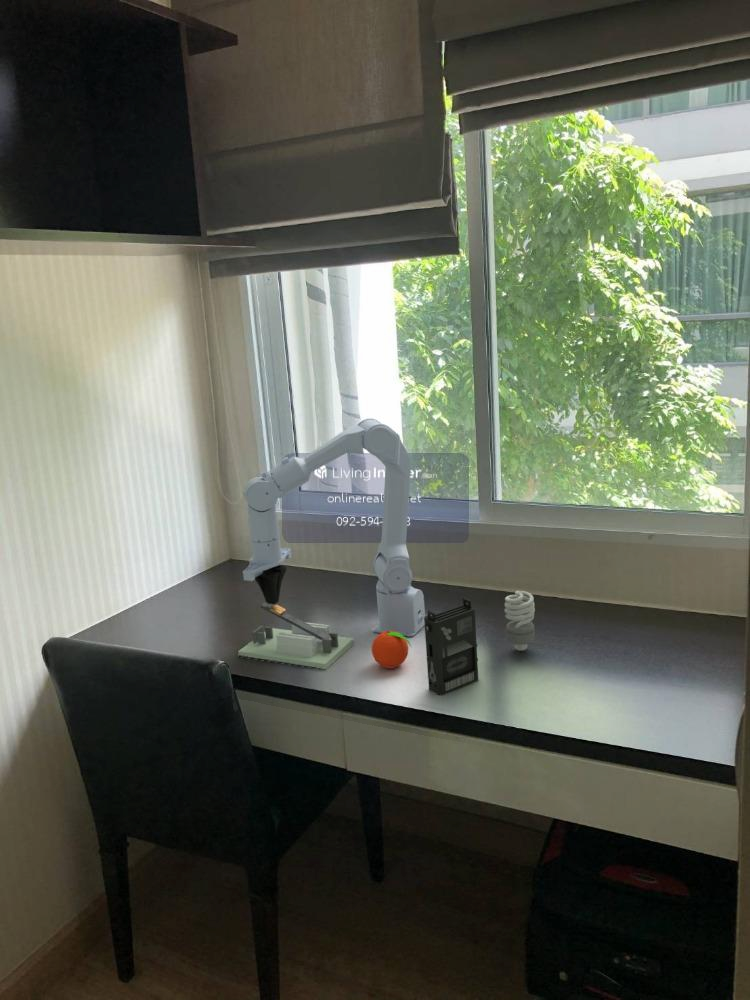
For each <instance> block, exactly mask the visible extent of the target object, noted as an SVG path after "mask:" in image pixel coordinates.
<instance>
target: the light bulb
mask: <svg viewBox="0 0 750 1000" xmlns="http://www.w3.org/2000/svg"><path fill="white" fill-rule="evenodd" d="M504 601H505V602H504V607H505V608H504V613H505V618H506V619H508V620H510V621H509V622H508V623H507V624H506V626H505V627H506V628H505V632H506V637H507V638H506V639H507V640H508V642H509V643H511V644H513V647H514V648H515V650H517V651H519V652H523V651H525V650H526V649H527V648H528V644H530V643H533V641H534V640H535V634H536V633H535V632H536V631H535V630H536V629H535V625H534V623H533V622H532V621H533V620H534V618H535V611H536V608H535V602H534V601H535V600H534V595H532V594H531V593H530V592H527V591H525V590H516V591H515V592H514V594H510V595H507V596H506V597H505V598H504Z"/></svg>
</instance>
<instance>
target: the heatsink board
mask: <svg viewBox="0 0 750 1000" xmlns="http://www.w3.org/2000/svg"><path fill="white" fill-rule="evenodd" d="M304 622H305V621H304ZM305 623H307V624H309V625H311V626H313V627H314V628H316V629H318V630H320V631H322V632H324V633H326V634H328V635H330V636H333V637H334V640H333V641H332V642H330V639H324V638H323V639H322V640H320V639H319V638H317V637H315V636H313V635H311V634H309V633H307V632H305V631H304V630H302V629H300V628H298V627H296V626H294V625H292V624H291V629H281V628H275V627H273V626H267V625H265V626H264V625H260V626H259V627H257V628H255V630H252V632H251V634H252V641H250V642H249V643H247V644H246V645H245V646H243V647H242V648H240V649H239V650H238V651H237V652H238V656H239V655H242V656H243V655H244V656H248V657H254V658H261V659H269V660H276V661H282V662H289V663H295V664H301V665H306V666H312V667H317V668H316V669H318V668H322V669H321V670H324V669H326V670H327V669H329V667H330V666H331V665H333V664H334V663H335V662H336V661H337V660H338V659H339V658H340V657H342V655H344V654H345V653H346V652H347V651H348V650H349V649H350V648H352V646H353V645H354V644H355V638H353V637H345V636H338V633H336V632H331V627H330V625H329V624H322V623H313V622H305Z"/></svg>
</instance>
